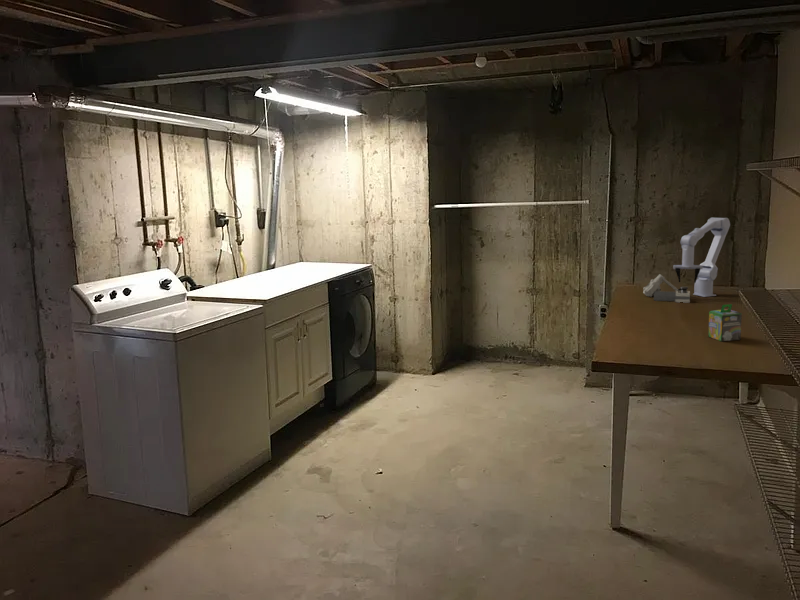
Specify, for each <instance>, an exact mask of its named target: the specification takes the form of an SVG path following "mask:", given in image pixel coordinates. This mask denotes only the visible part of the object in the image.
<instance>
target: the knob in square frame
mask: <svg viewBox="0 0 800 600" xmlns="http://www.w3.org/2000/svg"><path fill="white" fill-rule="evenodd" d="M653 301H655V302H662V301H663V302H674V303H680V302H683V303H684V304H685V303H686V304H687V303H688V304H690V302H691V291H690V290H687V293H681V291H663V290H661V291H654V295H653Z"/></svg>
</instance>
